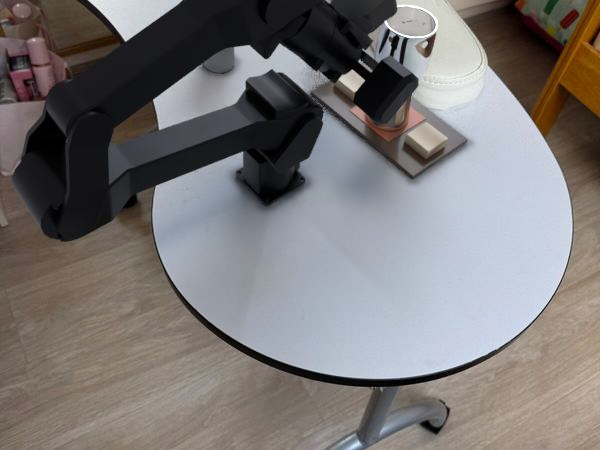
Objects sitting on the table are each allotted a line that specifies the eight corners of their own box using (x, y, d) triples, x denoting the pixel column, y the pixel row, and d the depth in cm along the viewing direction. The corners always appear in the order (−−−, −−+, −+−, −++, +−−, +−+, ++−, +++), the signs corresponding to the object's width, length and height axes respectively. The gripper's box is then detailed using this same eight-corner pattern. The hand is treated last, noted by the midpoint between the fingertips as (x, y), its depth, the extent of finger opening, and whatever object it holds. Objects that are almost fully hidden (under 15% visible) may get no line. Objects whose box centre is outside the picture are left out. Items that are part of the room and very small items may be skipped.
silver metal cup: (355, 124, 80) (374, 29, 67) (370, 93, 84) (390, -3, 71) (404, 139, 78) (433, 45, 66) (417, 107, 82) (446, 13, 70)
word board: (412, 179, 75) (415, 168, 74) (310, 94, 84) (311, 82, 82) (466, 142, 80) (471, 131, 78) (365, 65, 88) (367, 53, 87)
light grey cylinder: (198, 67, 85) (192, 4, 77) (212, 50, 88) (208, -13, 80) (226, 76, 84) (223, 13, 76) (239, 59, 87) (238, -4, 79)
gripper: (429, 8, 53) (473, 66, 66) (302, -82, 61) (364, -15, 74) (350, 107, 56) (407, 143, 69) (240, 8, 64) (310, 57, 77)
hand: (372, 77), depth 72 cm, fingers open, 9 cm apart
